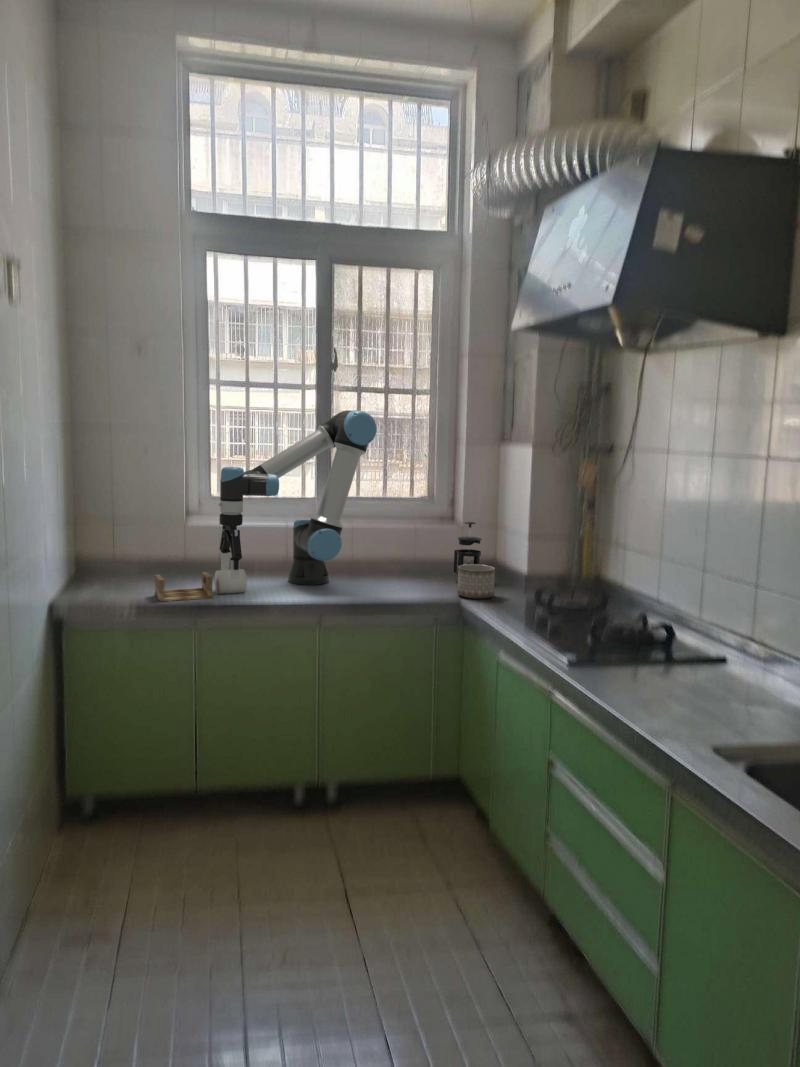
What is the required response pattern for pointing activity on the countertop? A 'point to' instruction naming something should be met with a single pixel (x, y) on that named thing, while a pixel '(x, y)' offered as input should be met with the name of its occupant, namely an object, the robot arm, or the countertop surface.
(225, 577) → the roll
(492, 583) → the planter
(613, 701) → the countertop surface
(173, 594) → the holder
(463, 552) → the french press
